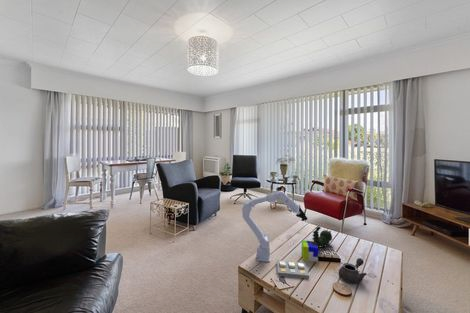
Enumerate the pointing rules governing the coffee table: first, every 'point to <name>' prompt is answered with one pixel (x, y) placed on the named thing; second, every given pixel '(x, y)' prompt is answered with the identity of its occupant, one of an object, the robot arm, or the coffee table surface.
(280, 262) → the button left
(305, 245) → the puzzle toy
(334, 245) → the coffee table surface
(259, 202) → the robot arm
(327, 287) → the coffee table surface
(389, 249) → the coffee table surface
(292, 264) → the button middle
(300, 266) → the button right
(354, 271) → the teapot
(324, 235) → the green cactus plant
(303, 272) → the button board
